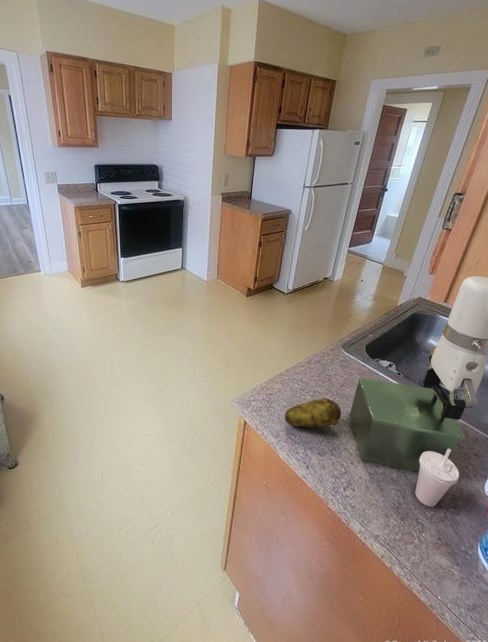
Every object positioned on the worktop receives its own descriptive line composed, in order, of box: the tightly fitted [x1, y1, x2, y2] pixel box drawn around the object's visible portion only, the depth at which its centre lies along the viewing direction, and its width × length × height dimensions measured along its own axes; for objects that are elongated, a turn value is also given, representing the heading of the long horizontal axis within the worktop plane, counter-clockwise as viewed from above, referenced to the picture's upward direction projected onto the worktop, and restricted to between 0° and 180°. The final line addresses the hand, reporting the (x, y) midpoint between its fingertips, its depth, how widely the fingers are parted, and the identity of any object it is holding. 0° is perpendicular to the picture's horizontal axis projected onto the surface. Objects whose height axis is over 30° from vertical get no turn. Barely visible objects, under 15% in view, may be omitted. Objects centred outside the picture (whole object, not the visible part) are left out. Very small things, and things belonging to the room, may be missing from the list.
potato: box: [284, 397, 342, 428], centre depth 82 cm, size 8×13×8 cm, turn 67°
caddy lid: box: [358, 377, 466, 440], centre depth 73 cm, size 18×14×5 cm
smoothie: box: [414, 449, 460, 508], centre depth 64 cm, size 6×6×14 cm
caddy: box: [349, 380, 459, 473], centre depth 76 cm, size 17×14×12 cm
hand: (439, 400), depth 72 cm, fingers open, 9 cm apart
